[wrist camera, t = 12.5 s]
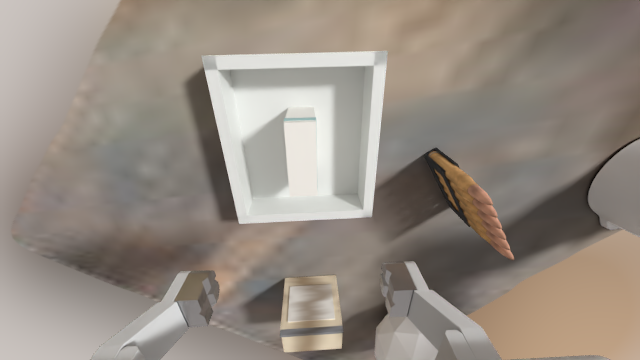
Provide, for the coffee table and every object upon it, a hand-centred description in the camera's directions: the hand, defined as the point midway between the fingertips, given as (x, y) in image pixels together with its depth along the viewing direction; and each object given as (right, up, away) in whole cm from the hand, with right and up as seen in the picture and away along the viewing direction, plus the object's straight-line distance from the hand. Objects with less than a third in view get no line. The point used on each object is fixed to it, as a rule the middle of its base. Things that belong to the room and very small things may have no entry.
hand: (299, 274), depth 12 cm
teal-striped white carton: (-1, +10, +19) cm, 21 cm away
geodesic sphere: (+18, -23, +38) cm, 47 cm away
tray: (-1, +10, +19) cm, 22 cm away
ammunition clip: (+19, +5, +23) cm, 30 cm away
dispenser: (-1, -15, +33) cm, 36 cm away
